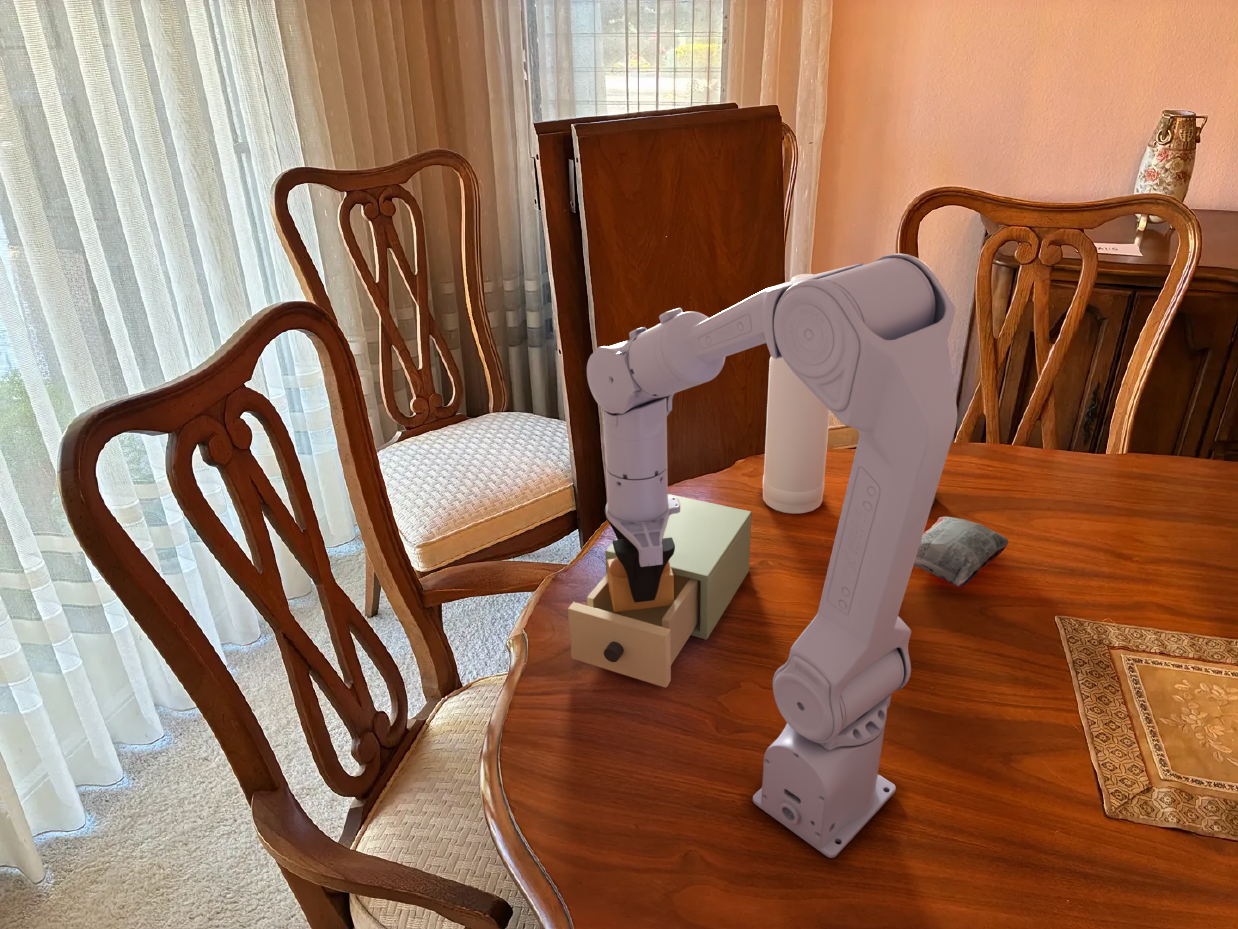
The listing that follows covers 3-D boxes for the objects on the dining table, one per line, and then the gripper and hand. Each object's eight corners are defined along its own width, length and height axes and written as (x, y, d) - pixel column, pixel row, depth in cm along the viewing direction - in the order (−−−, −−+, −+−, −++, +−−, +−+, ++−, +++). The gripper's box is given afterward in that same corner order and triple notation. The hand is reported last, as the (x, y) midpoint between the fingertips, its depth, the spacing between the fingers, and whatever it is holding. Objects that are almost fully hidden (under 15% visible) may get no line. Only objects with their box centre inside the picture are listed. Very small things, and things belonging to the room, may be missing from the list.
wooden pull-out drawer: (661, 696, 81) (660, 644, 78) (565, 666, 85) (561, 615, 82) (712, 613, 92) (713, 565, 89) (625, 590, 96) (624, 543, 93)
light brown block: (666, 581, 88) (665, 541, 86) (674, 605, 85) (673, 563, 82) (608, 588, 87) (606, 547, 85) (614, 612, 84) (611, 570, 82)
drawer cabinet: (706, 640, 89) (707, 576, 86) (608, 612, 94) (604, 550, 90) (749, 570, 100) (751, 511, 96) (658, 548, 105) (657, 491, 101)
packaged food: (888, 571, 99) (893, 535, 97) (940, 530, 106) (946, 496, 104) (959, 604, 93) (967, 566, 91) (1009, 559, 100) (1017, 523, 98)
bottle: (751, 503, 113) (760, 281, 99) (778, 479, 119) (791, 265, 105) (806, 521, 109) (825, 291, 95) (832, 495, 115) (853, 273, 100)
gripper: (696, 499, 73) (695, 626, 79) (664, 427, 86) (665, 541, 92) (614, 508, 72) (620, 635, 79) (594, 434, 85) (600, 548, 91)
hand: (640, 585), depth 85 cm, fingers closed on light brown block, 4 cm apart
